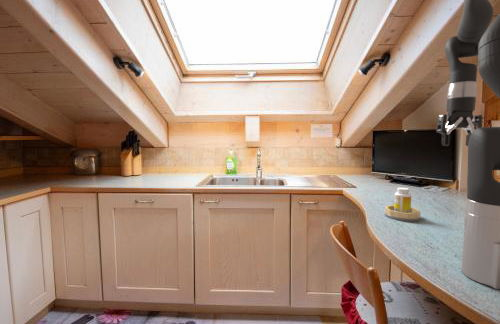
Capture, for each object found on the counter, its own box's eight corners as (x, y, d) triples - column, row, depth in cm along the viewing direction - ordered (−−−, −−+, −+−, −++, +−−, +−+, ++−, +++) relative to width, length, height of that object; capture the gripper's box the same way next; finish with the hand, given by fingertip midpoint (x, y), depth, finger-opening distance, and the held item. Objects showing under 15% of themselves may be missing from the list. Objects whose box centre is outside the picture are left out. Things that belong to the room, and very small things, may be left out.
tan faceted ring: (427, 221, 98) (428, 213, 97) (397, 221, 97) (397, 214, 96) (406, 211, 109) (406, 204, 109) (378, 212, 109) (379, 205, 108)
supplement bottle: (412, 214, 103) (413, 188, 102) (408, 217, 99) (409, 190, 98) (396, 211, 107) (397, 186, 106) (391, 214, 103) (393, 188, 102)
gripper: (450, 95, 83) (446, 146, 85) (492, 95, 84) (487, 146, 86) (432, 98, 91) (429, 145, 92) (470, 99, 92) (467, 145, 93)
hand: (457, 145), depth 89 cm, fingers open, 8 cm apart
